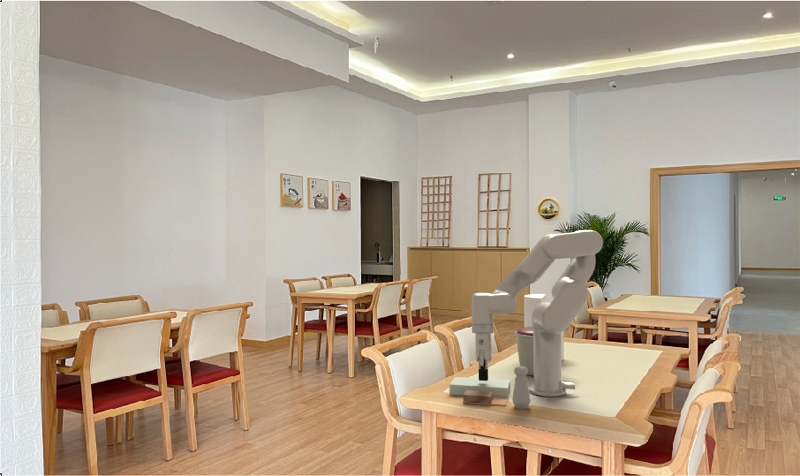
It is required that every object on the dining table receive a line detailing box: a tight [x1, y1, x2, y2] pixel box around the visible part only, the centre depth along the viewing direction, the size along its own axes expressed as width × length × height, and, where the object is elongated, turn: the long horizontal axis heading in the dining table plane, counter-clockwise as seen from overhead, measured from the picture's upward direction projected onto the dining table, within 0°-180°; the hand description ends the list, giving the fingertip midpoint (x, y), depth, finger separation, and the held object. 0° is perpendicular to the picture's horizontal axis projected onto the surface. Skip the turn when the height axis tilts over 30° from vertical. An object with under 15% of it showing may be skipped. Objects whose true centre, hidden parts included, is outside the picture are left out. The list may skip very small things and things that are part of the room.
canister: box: [514, 327, 534, 377], centre depth 229 cm, size 18×18×21 cm
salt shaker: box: [512, 365, 532, 410], centre depth 184 cm, size 6×6×13 cm
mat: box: [462, 397, 509, 407], centre depth 192 cm, size 14×9×1 cm, turn 75°
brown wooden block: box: [462, 390, 493, 405], centre depth 191 cm, size 9×6×2 cm, turn 75°
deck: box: [449, 376, 511, 399], centre depth 202 cm, size 20×11×4 cm, turn 75°
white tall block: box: [523, 293, 565, 362], centre depth 257 cm, size 17×17×28 cm
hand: (483, 380), depth 201 cm, fingers closed
